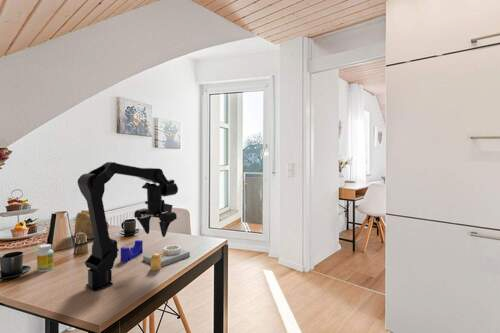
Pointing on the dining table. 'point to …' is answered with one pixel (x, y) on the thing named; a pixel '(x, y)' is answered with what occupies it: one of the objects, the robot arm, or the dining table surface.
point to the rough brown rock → (84, 224)
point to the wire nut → (155, 262)
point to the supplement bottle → (45, 258)
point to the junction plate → (169, 255)
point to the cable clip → (131, 251)
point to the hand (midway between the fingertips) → (155, 235)
